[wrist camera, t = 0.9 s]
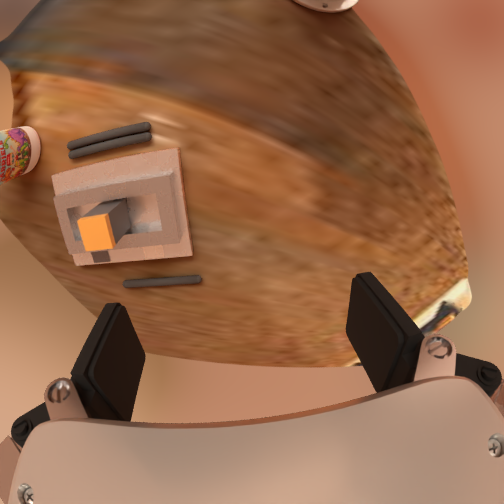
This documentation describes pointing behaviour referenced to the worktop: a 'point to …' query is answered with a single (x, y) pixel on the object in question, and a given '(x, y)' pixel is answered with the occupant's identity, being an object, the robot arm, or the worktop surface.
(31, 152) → the milk bottle
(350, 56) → the worktop surface
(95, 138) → the cord
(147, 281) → the cord
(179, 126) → the worktop surface
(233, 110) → the worktop surface
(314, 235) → the worktop surface
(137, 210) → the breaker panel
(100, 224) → the block
